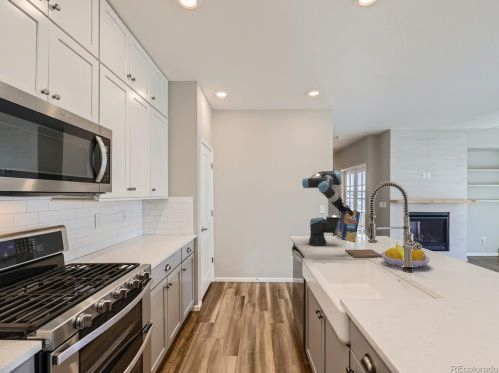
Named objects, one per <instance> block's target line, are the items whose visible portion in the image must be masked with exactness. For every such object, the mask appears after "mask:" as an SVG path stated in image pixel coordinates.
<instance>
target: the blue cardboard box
mask: <svg viewBox="0 0 499 373" xmlns="http://www.w3.org/2000/svg"><path fill="white" fill-rule="evenodd" d="M352 212H353V213H354V214H353V215H352V216H351V215H350V214H349V213H348V212H345V211H343V212H342V211H341V212H340V216H339V217H340V222H339V228H338V233H336V239H337V240H341V241H345V242H351V243H356V238H357V234H358V228H359V221H360V215H361V212H359V211H356V210H352Z"/></svg>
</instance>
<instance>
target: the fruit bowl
mask: <svg viewBox="0 0 499 373" xmlns="http://www.w3.org/2000/svg"><path fill="white" fill-rule="evenodd" d="M395 244H396V245H395V247H391V248H389V249H387V250H385V251H383V252H380V253H379V254H381V256H382V258H381V259H383V260H384V261H385V262H387V263H389V264H391V265H393V264H394V265H393V266H396V265H398V266H397V267H400V266H403V265H404V260H403V257H404V250H405V249H404V248H403V247H402V246H401V245H399V244H398V241H397V242H395ZM430 261H431V257H429V256H427V255H426V254H425V251H424V250H422V249H421V250H412V266H413V267H412V268H420V267H422V266H427V265H428V264H429V262H430ZM419 266H420V267H419Z"/></svg>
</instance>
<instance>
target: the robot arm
mask: <svg viewBox="0 0 499 373" xmlns="http://www.w3.org/2000/svg"><path fill="white" fill-rule="evenodd" d="M301 184H302V188H303V189H313V188H314V189H318V190H319V192H320V193H321V194H323V195H324V197H325V198H326V199H327V216H326V219H325V218H324V217H323V216H322V217H315V218H314V217H313V218H311V219H310V220H309V222H310V223H309V224H310V225H309V228H310V229H309V231H310V232H309V234H310V235H309V240H308V245H309V246H314V247H323V246H327V239H326V237H325V234H337V233H338V228H339V222H340V217H341V216H340V215H339V212H340V213H341V211H342V212H343V211H345V212H348V213H349V214H350V215H351V216H352V215H353V214H354V213H353V212H352V211H353V210H352V209H351V208H350V206H349V205H348V204H345V203H344V202H343V199H342V197H341V196H340V195H339V188H340V186H341V185H342V184H343V183H342V177H341V172H340V171H339V170H326V171H318V172H316V173H313V174H312V175H311V176H310V177H305V178H303V179H302V183H301Z"/></svg>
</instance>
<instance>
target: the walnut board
mask: <svg viewBox="0 0 499 373" xmlns="http://www.w3.org/2000/svg"><path fill="white" fill-rule="evenodd" d="M344 251H345V253H346V254H348V255H349V256H351V258H354V259H375V258H374V257H382V256H381V254H380V253H379V252H377V251H375V250H374V249H344Z"/></svg>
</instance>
